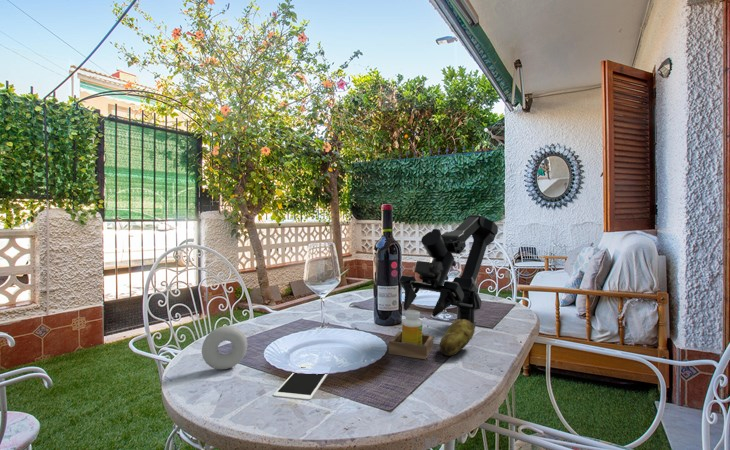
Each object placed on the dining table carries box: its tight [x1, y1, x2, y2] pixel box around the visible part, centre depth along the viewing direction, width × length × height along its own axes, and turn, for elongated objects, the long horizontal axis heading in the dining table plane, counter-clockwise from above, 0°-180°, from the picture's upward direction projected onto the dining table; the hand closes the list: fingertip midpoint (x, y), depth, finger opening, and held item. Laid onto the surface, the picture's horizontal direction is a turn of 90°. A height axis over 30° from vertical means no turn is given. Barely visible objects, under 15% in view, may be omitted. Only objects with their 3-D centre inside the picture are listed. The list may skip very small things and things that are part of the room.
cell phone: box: [272, 363, 329, 401], centre depth 80 cm, size 8×16×1 cm, turn 170°
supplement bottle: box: [401, 309, 423, 345], centre depth 99 cm, size 5×5×10 cm
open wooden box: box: [388, 330, 434, 360], centre depth 99 cm, size 10×10×3 cm
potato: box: [439, 318, 476, 357], centre depth 99 cm, size 8×13×8 cm, turn 121°
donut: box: [201, 325, 249, 370], centre depth 85 cm, size 10×4×10 cm, turn 118°
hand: (418, 312), depth 101 cm, fingers open, 9 cm apart
